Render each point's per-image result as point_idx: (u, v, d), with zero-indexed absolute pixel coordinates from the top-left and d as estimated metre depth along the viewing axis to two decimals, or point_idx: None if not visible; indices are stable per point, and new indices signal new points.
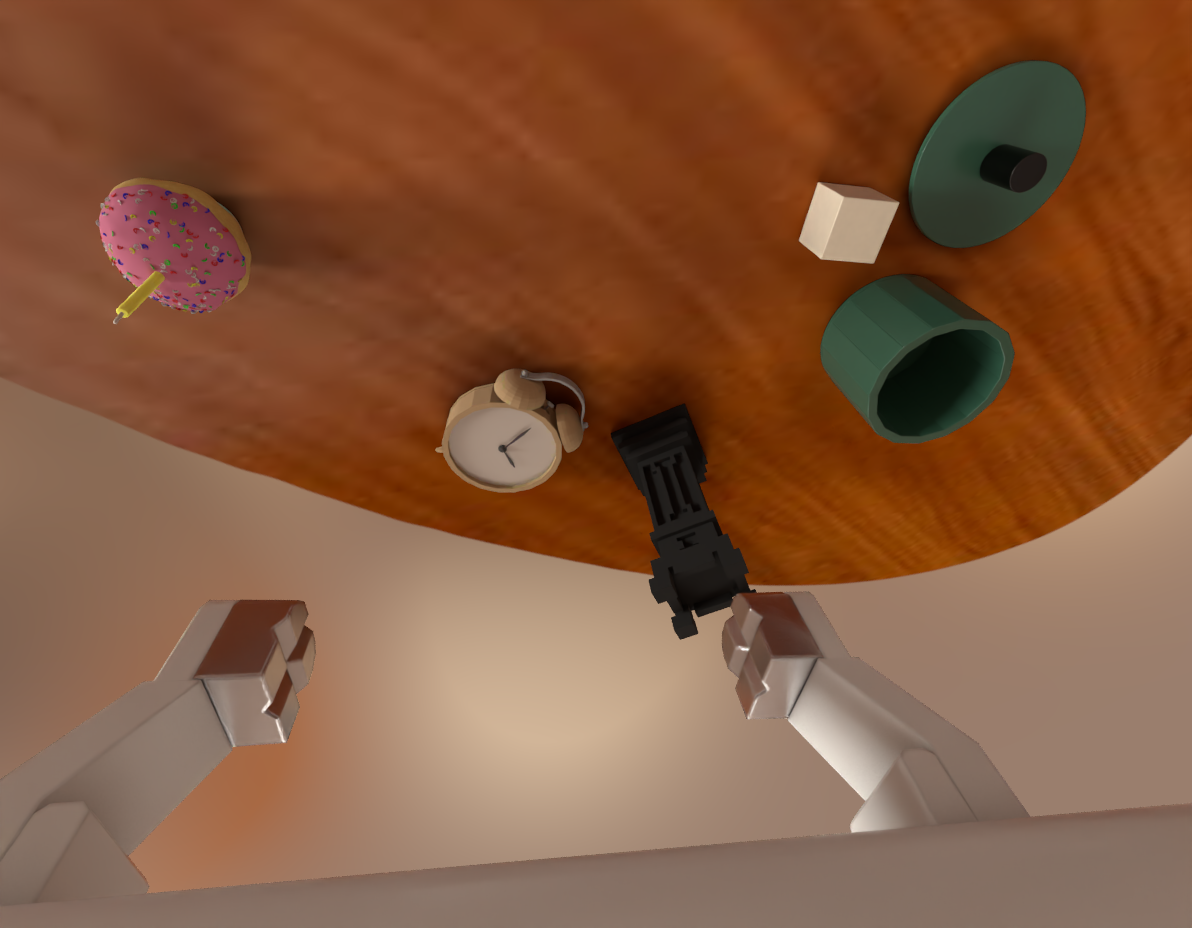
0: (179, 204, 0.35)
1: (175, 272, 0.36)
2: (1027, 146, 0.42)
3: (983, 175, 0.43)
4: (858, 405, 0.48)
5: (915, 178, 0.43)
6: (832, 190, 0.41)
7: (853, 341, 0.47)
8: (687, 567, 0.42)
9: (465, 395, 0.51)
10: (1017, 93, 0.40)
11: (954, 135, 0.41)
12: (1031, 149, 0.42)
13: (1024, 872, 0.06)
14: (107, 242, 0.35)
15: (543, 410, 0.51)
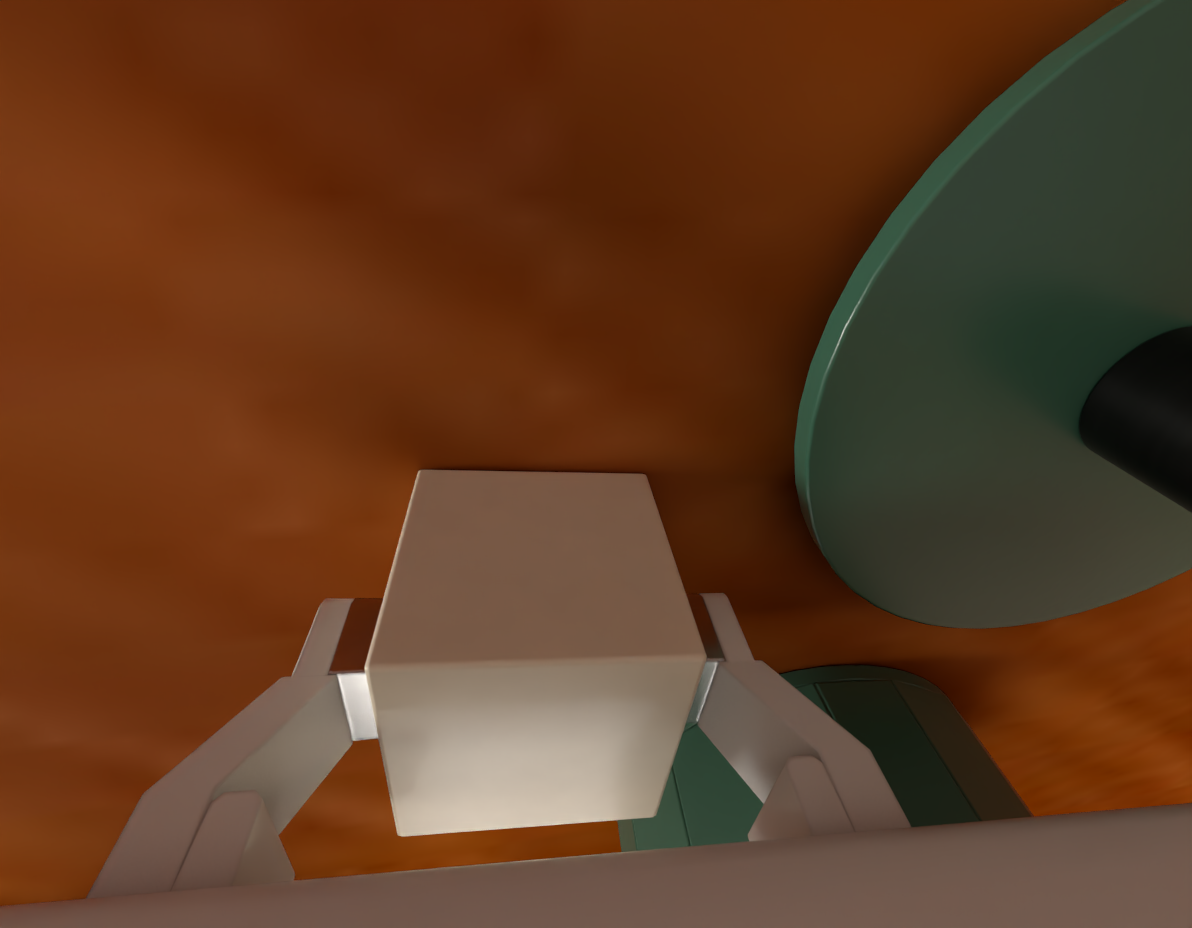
0: None
1: None
2: None
3: (1100, 445, 0.10)
4: None
5: (811, 459, 0.10)
6: (392, 565, 0.08)
7: None
8: None
9: None
10: None
11: (968, 298, 0.09)
12: None
13: (1024, 872, 0.06)
14: None
15: None
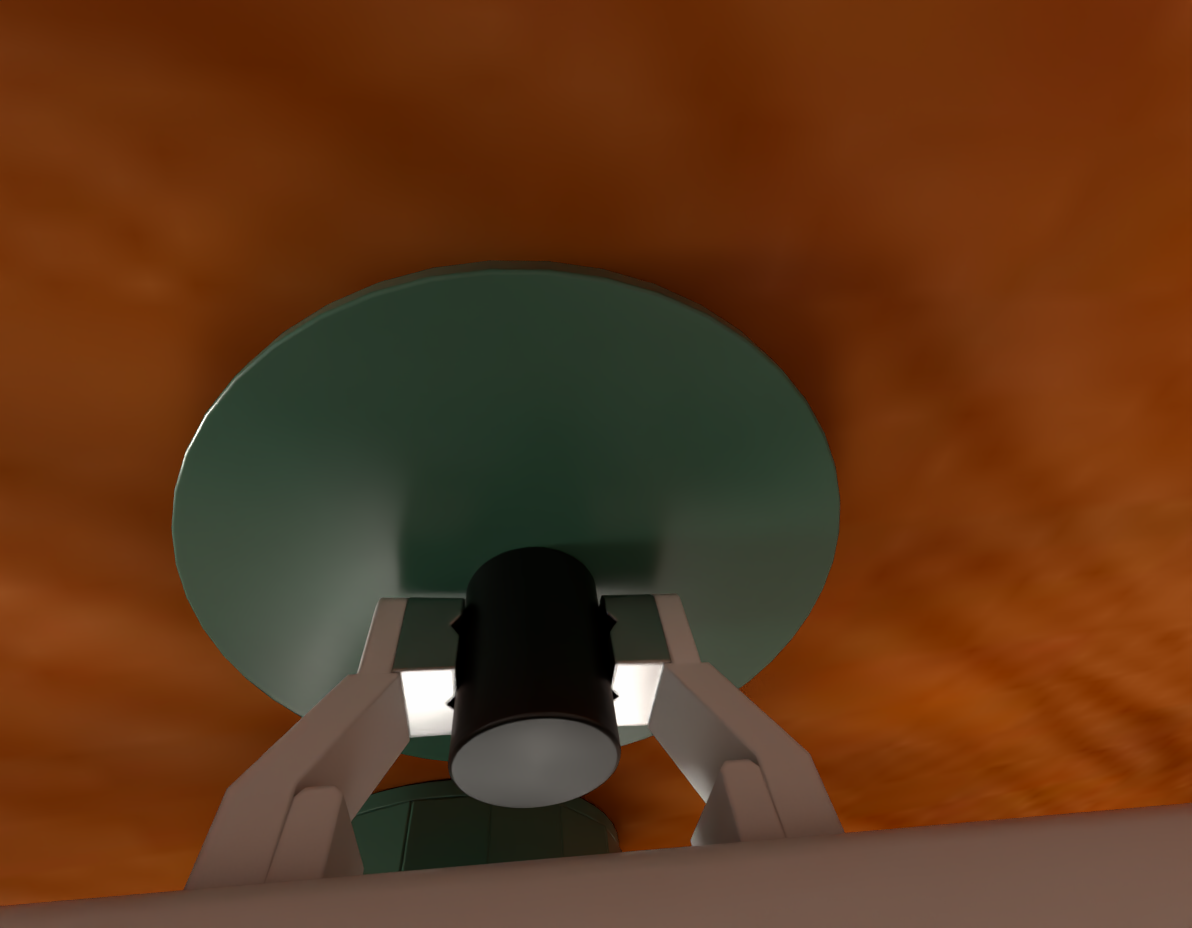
0: None
1: None
2: (629, 545, 0.11)
3: None
4: None
5: (227, 653, 0.11)
6: None
7: None
8: None
9: None
10: (468, 394, 0.09)
11: (280, 539, 0.10)
12: (650, 550, 0.11)
13: (1024, 872, 0.06)
14: None
15: None
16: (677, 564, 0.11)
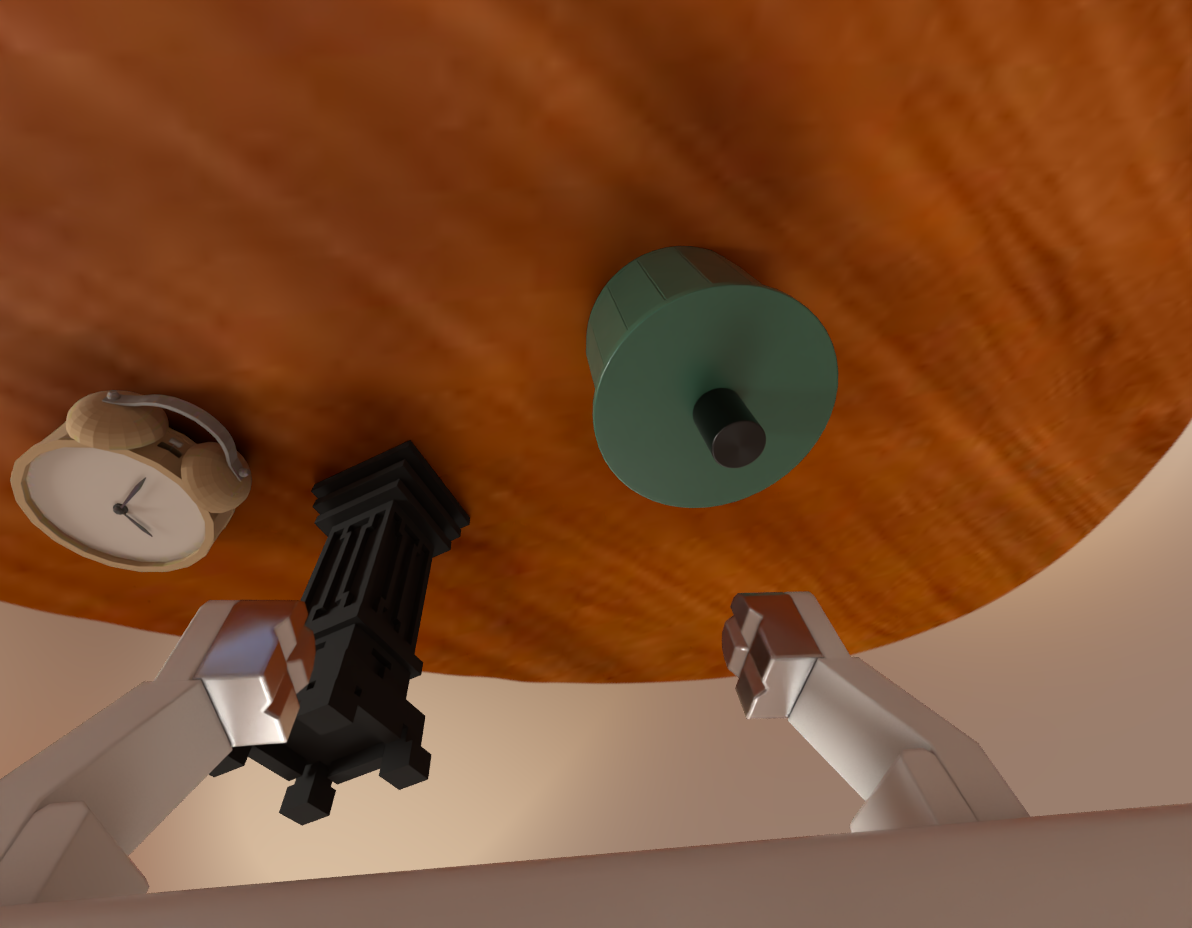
0: None
1: None
2: (757, 388, 0.28)
3: None
4: None
5: (597, 433, 0.28)
6: None
7: (597, 340, 0.31)
8: None
9: None
10: (714, 325, 0.26)
11: (636, 380, 0.27)
12: (764, 391, 0.28)
13: (1024, 872, 0.06)
14: None
15: (163, 451, 0.34)
16: (774, 398, 0.28)
